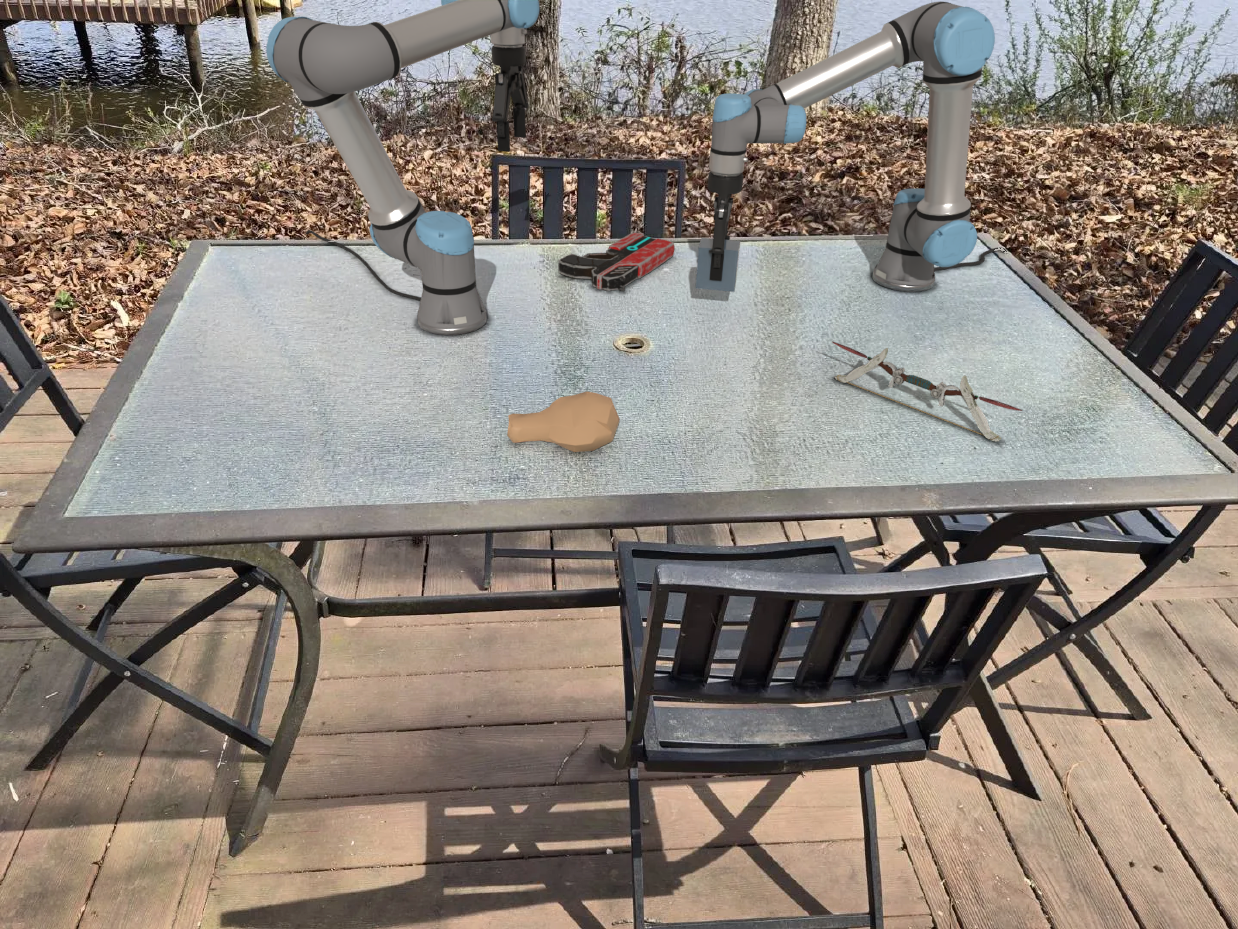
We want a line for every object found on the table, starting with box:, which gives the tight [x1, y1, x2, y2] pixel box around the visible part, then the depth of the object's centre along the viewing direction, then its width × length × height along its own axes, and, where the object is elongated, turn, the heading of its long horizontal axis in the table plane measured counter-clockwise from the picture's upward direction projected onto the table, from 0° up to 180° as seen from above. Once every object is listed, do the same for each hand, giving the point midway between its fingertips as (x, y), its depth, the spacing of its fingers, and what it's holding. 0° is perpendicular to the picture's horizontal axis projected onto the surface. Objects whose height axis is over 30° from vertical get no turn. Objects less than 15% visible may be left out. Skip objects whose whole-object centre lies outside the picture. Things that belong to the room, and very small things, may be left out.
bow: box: [831, 341, 1023, 443], centre depth 166 cm, size 39×2×10 cm, turn 47°
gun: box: [557, 232, 676, 292], centre depth 225 cm, size 4×31×19 cm
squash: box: [506, 390, 621, 453], centre depth 154 cm, size 11×20×9 cm, turn 90°
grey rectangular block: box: [694, 237, 741, 293], centre depth 200 cm, size 7×9×10 cm
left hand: (512, 143), depth 207 cm, fingers open, 13 cm apart
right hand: (717, 273), depth 201 cm, fingers closed on grey rectangular block, 7 cm apart
